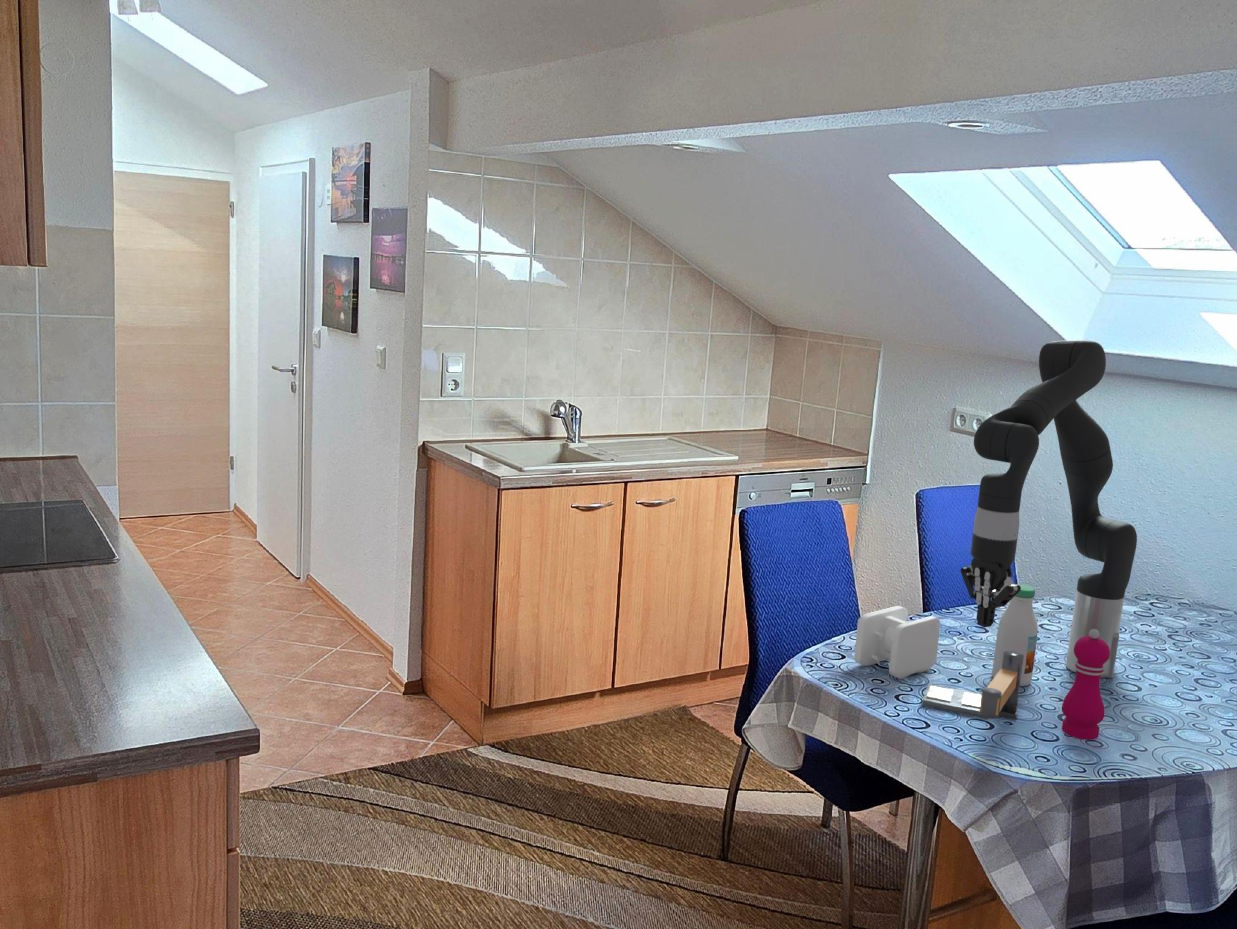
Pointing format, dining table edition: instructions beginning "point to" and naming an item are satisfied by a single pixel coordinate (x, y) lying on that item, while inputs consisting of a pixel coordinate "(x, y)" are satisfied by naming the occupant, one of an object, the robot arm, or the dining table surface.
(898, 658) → the cable organizer
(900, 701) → the dining table surface
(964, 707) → the label plate
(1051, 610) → the dining table surface
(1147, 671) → the dining table surface
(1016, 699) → the post
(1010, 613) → the milk bottle
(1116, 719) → the dining table surface
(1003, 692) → the swing bar
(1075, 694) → the pepper mill
